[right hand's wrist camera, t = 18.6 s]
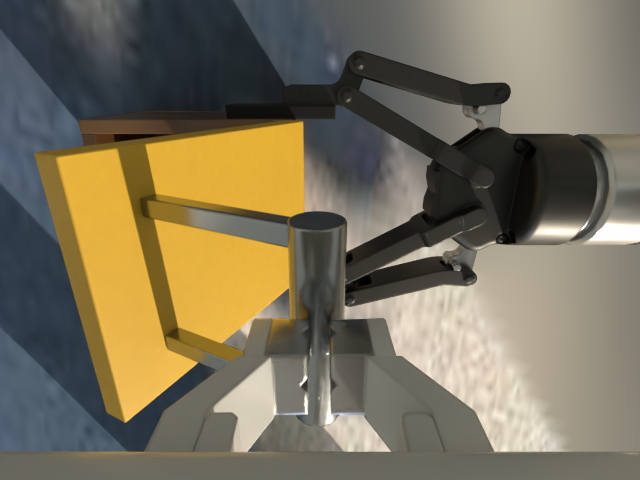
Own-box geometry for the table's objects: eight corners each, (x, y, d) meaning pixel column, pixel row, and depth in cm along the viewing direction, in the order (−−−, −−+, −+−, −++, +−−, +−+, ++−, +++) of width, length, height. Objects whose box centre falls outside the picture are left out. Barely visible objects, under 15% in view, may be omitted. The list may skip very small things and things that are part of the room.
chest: (162, 224, 33) (112, 269, 25) (143, 110, 30) (77, 119, 21) (302, 224, 34) (299, 268, 25) (300, 110, 30) (295, 119, 22)
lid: (105, 413, 14) (299, 523, 10) (32, 152, 10) (289, 186, 7) (291, 270, 25) (417, 301, 21) (287, 120, 21) (437, 126, 18)
